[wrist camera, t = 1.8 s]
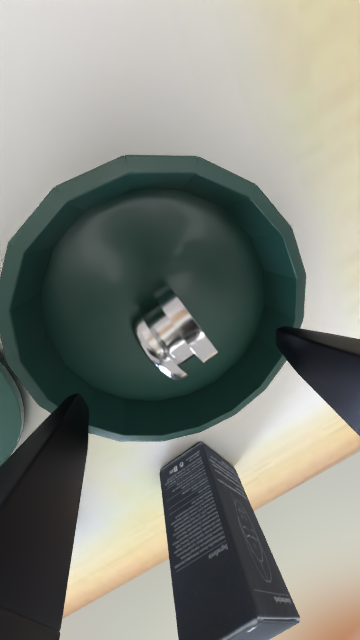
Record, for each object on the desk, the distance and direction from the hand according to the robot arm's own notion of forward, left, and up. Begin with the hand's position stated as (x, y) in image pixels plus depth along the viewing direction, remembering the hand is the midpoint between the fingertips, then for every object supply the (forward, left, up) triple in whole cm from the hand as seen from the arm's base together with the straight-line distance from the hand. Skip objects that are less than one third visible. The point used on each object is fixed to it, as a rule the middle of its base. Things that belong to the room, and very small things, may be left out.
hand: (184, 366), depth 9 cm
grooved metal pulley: (0, 0, -6) cm, 6 cm away
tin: (0, 0, -6) cm, 6 cm away
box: (-1, -19, -6) cm, 20 cm away
